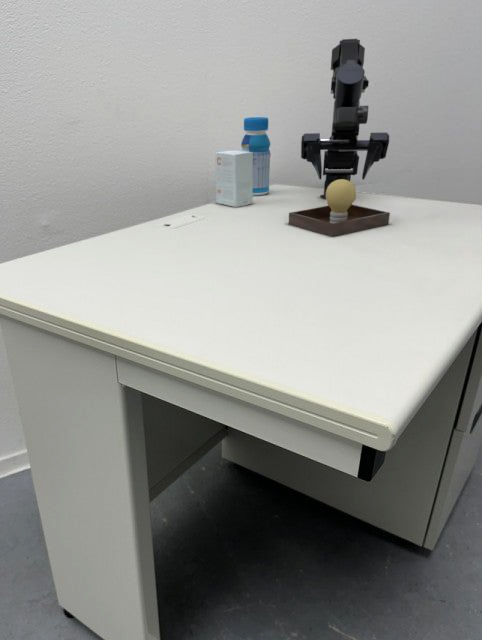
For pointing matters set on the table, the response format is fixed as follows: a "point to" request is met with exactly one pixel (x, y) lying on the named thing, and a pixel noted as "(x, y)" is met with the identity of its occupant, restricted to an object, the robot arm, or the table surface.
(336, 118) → the robot arm
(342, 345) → the table surface
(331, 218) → the light bulb
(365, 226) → the walnut tray
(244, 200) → the small box
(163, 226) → the table surface
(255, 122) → the beverage bottle
